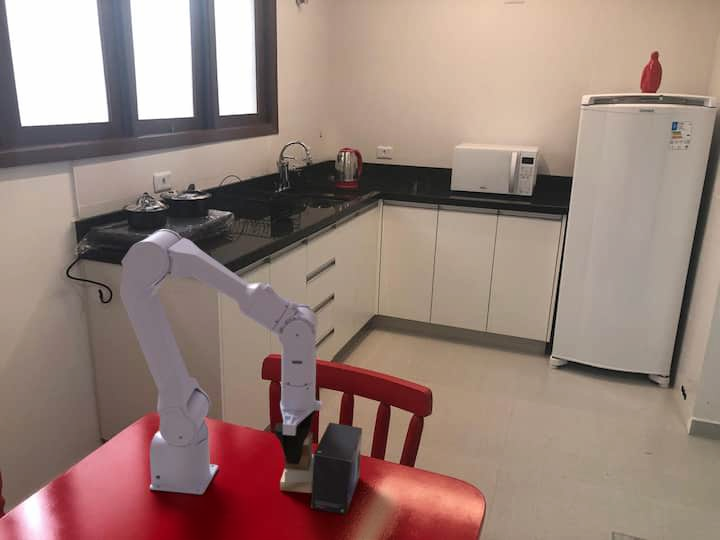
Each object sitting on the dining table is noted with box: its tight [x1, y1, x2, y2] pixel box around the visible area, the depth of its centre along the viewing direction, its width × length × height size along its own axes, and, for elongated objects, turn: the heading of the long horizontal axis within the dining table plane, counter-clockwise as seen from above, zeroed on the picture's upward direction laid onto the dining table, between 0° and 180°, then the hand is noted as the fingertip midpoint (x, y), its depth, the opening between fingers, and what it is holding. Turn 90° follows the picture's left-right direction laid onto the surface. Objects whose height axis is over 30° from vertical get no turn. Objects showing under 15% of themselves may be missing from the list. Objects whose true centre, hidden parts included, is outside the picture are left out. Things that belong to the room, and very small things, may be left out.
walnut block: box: [284, 431, 313, 471], centre depth 100 cm, size 4×4×5 cm
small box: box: [310, 422, 363, 515], centre depth 97 cm, size 11×6×10 cm, turn 168°
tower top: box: [284, 453, 314, 483], centre depth 101 cm, size 5×5×2 cm
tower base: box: [279, 469, 313, 494], centre depth 101 cm, size 6×6×2 cm
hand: (297, 449), depth 99 cm, fingers open, 7 cm apart
